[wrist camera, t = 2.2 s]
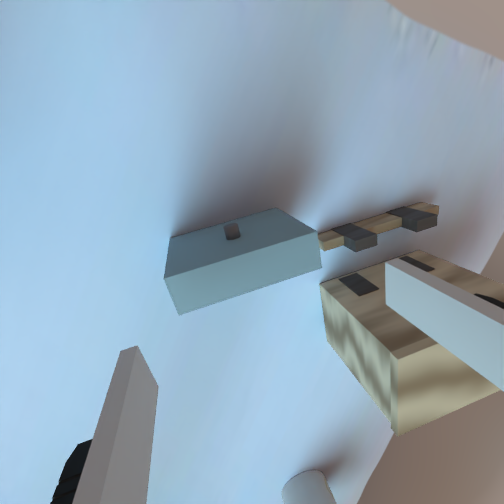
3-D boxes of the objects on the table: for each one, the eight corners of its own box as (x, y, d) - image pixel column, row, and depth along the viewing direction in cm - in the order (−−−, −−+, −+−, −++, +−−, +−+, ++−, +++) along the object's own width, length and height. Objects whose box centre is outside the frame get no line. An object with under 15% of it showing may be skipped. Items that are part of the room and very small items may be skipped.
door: (166, 228, 25) (158, 265, 17) (274, 198, 26) (315, 218, 18) (180, 265, 26) (178, 315, 18) (281, 234, 28) (321, 267, 20)
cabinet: (310, 235, 29) (398, 290, 17) (422, 200, 31) (567, 229, 19) (325, 342, 35) (397, 436, 23) (417, 307, 37) (525, 378, 25)
